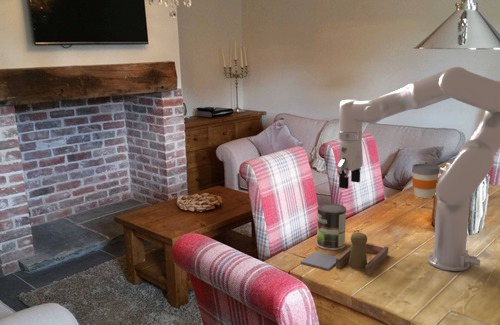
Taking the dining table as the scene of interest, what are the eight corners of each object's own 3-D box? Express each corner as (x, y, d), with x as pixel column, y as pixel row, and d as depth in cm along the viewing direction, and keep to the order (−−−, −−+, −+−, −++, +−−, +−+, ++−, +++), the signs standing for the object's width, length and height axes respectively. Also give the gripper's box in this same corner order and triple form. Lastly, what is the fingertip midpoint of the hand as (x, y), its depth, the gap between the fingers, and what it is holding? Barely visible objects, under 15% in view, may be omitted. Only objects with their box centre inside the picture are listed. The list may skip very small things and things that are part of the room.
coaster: (341, 259, 153) (341, 257, 153) (328, 270, 145) (328, 268, 145) (314, 252, 159) (314, 251, 159) (300, 263, 151) (300, 261, 151)
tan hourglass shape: (364, 261, 151) (365, 230, 149) (369, 269, 145) (371, 236, 143) (346, 262, 151) (347, 230, 149) (351, 270, 145) (352, 237, 143)
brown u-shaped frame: (388, 255, 156) (388, 247, 155) (368, 275, 141) (368, 266, 140) (357, 248, 162) (357, 240, 161) (335, 267, 147) (335, 258, 147)
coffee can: (325, 252, 159) (326, 213, 156) (311, 241, 169) (312, 205, 166) (351, 247, 163) (352, 209, 160) (335, 237, 172) (336, 202, 169)
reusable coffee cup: (418, 191, 232) (420, 162, 228) (442, 196, 222) (444, 166, 219) (405, 196, 224) (407, 166, 220) (429, 201, 214) (431, 170, 211)
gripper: (350, 140, 146) (349, 192, 149) (370, 133, 159) (369, 180, 163) (329, 139, 150) (328, 189, 154) (350, 132, 164) (350, 178, 167)
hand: (349, 184), depth 158 cm, fingers open, 9 cm apart
